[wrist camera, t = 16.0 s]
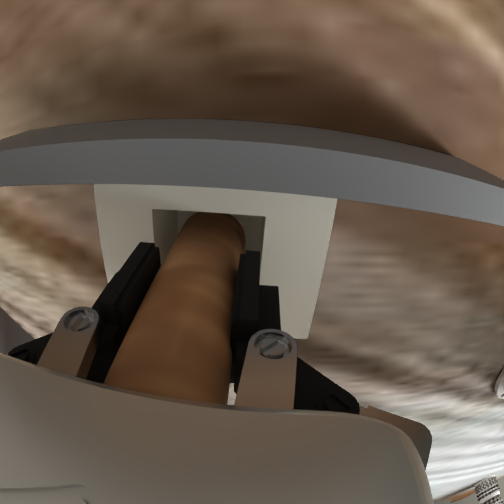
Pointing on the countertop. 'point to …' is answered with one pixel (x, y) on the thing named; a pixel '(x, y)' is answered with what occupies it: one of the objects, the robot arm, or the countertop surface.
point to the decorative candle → (488, 491)
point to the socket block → (252, 221)
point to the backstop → (253, 163)
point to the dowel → (186, 317)
